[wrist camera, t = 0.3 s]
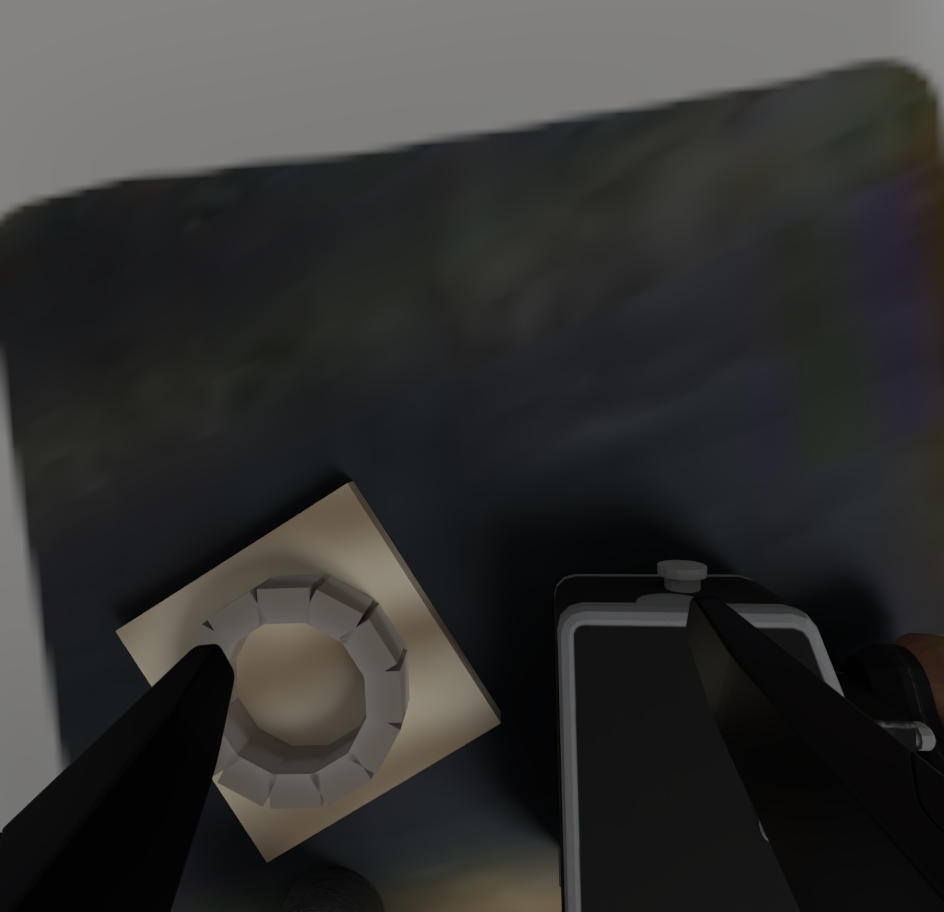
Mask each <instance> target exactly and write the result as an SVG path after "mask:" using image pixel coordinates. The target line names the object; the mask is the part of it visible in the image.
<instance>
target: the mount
mask: <svg viewBox="0 0 944 912" xmlns="http://www.w3.org/2000/svg"><path fill="white" fill-rule="evenodd" d="M116 633H117V634H118V636H119V637H120V639H121V640H122V642H123V644H124V645H125V647H126V648H127V650H128V651H129V653H130V654H131V656H132V657H133V659H134V660H135V662H136V663H137V665H138V666H139V668H140V669H141V671H142V673H143V674H144V676H145V677H146V679H147V680H148V682H149V683H150V685H151V686H153V685H154V684H155V683H156V682H157V681H158V680H159V679H161V678H162V677H163V676H164V675H165V674H166V673H167V672H168V671H169V670H170V669H171V668H172V667H173V666H174V665H175V664H176V663H177V662H178V661H179V660H181V659H182V658H183V657H184V656H185V655H186V654H187V653H188V652H189V651H190V650H191V649H192V648H194V647H196V646H198V645H206V644H218V645H219V646H220V647H221V648H222V650H223V651H224V653H225V655H226V657H227V659H228V660H229V662H230V664H231V666H232V667H233V670H234V675H235V679H234V686H233V691H232V695H231V700H230V705H229V710H228V714H227V719H226V724H225V729H224V733H223V738H222V743H221V748H220V752H219V756H218V761H217V765H216V768H215V771H214V775H213V778H212V780H213V781H214V783H215V784H216V786H217V787H218V789H219V790H220V792H221V793H222V795H223V796H224V798H225V799H226V801H227V802H228V804H229V806H230V807H231V809H232V810H233V812H234V813H235V815H236V816H237V818H238V819H239V821H240V822H241V824H242V825H243V827H244V828H245V830H246V832H247V833H248V835H249V836H250V838H251V839H252V841H253V842H254V844H255V845H256V847H257V848H258V850H259V851H260V853H261V854H262V856H263V858H264V859H265V861H266V862H269V861H271V860H272V859H274V858H276V857H277V856H279V855H281V854H282V853H284V852H286V851H288V850H289V849H291V848H293V847H294V846H296V845H298V844H299V843H301V842H303V841H304V840H306V839H308V838H309V837H311V836H313V835H314V834H316V833H318V832H319V831H321V830H323V829H324V828H326V827H328V826H329V825H331V824H333V823H335V822H336V821H338V820H340V819H341V818H343V817H345V816H346V815H348V814H350V813H351V812H353V811H355V810H356V809H358V808H360V807H361V806H363V805H365V804H366V803H368V802H370V801H371V800H373V799H375V798H376V797H378V796H380V795H381V794H383V793H385V792H387V791H388V790H390V789H392V788H393V787H395V786H397V785H398V784H400V783H402V782H403V781H405V780H407V779H408V778H410V777H412V776H413V775H415V774H417V773H418V772H420V771H422V770H423V769H425V768H427V767H428V766H430V765H432V764H434V763H435V762H437V761H439V760H440V759H442V758H444V757H445V756H447V755H449V754H450V753H452V752H454V751H455V750H457V749H459V748H460V747H462V746H464V745H465V744H467V743H469V742H470V741H472V740H474V739H475V738H477V737H479V736H480V735H482V734H484V733H486V732H487V731H489V730H491V729H492V728H494V727H496V726H497V725H499V724H501V711H500V710H499V708H498V707H497V705H496V703H495V702H494V700H493V699H492V697H491V696H490V694H489V693H488V691H487V689H486V688H485V686H484V685H483V683H482V682H481V680H480V678H479V677H478V675H477V674H476V672H475V671H474V669H473V668H472V666H471V664H470V663H469V661H468V660H467V658H466V657H465V655H464V653H463V652H462V650H461V649H460V647H459V646H458V644H457V643H456V641H455V639H454V638H453V636H452V635H451V633H450V632H449V630H448V628H447V627H446V625H445V624H444V622H443V621H442V619H441V617H440V616H439V614H438V613H437V611H436V610H435V608H434V607H433V605H432V603H431V602H430V600H429V599H428V597H427V596H426V594H425V592H424V591H423V589H422V588H421V586H420V585H419V583H418V582H417V580H416V578H415V577H414V575H413V574H412V572H411V571H410V569H409V567H408V566H407V564H406V563H405V561H404V560H403V558H402V557H401V555H400V553H399V552H398V550H397V549H396V547H395V546H394V544H393V542H392V541H391V539H390V538H389V536H388V535H387V533H386V531H385V530H384V528H383V527H382V525H381V524H380V522H379V521H378V519H377V517H376V516H375V514H374V513H373V511H372V510H371V508H370V506H369V505H368V503H367V502H366V500H365V499H364V497H363V496H362V494H361V492H360V491H359V489H358V488H357V486H356V485H355V483H354V481H352V482H349V483H347V484H345V485H344V486H342V487H340V488H339V489H337V490H336V491H334V492H333V493H331V494H329V495H328V496H326V497H325V498H323V499H322V500H320V501H318V502H317V503H315V504H314V505H312V506H311V507H309V508H308V509H306V510H304V511H303V512H301V513H300V514H298V515H297V516H295V517H293V518H292V519H290V520H289V521H287V522H286V523H284V524H282V525H281V526H279V527H278V528H276V529H275V530H273V531H272V532H270V533H268V534H267V535H265V536H264V537H262V538H261V539H259V540H257V541H256V542H254V543H253V544H251V545H250V546H248V547H246V548H245V549H243V550H242V551H240V552H239V553H237V554H236V555H234V556H232V557H231V558H229V559H228V560H226V561H225V562H223V563H221V564H220V565H218V566H217V567H215V568H214V569H212V570H210V571H209V572H207V573H206V574H204V575H203V576H201V577H200V578H198V579H196V580H195V581H193V582H192V583H190V584H189V585H187V586H185V587H184V588H182V589H181V590H179V591H178V592H176V593H174V594H173V595H171V596H170V597H168V598H167V599H165V600H164V601H162V602H160V603H159V604H157V605H156V606H154V607H153V608H151V609H149V610H148V611H146V612H145V613H143V614H142V615H140V616H138V617H137V618H135V619H134V620H132V621H131V622H129V623H128V624H126V625H124V626H123V627H121V628H120V629H118V630H117V631H116Z"/></svg>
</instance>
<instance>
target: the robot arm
mask: <svg viewBox="0 0 944 912" xmlns="http://www.w3.org/2000/svg"><path fill="white" fill-rule="evenodd" d="M686 634H687V638H688V642H689V645H690V648H691V651H692V654H693V657H694V660H695V663H696V666H697V669H698V672H699V675H700V678H701V681H702V684H703V687H704V690H705V693H706V697H707V700H708V703H709V706H710V709H711V711H712V714H713V717H714V720H715V722H716V725H717V727H718V729H719V732H720V734H721V736H722V738H723V741H724V743H725V745H726V747H727V750H728V752H729V754H730V756H731V758H732V761H733V763H734V765H735V767H736V770H737V772H738V774H739V776H740V779H741V781H742V783H743V785H744V787H745V790H746V792H747V794H748V796H749V799H750V801H751V803H752V805H753V807H754V810H755V812H756V814H757V816H758V819H759V821H760V823H761V825H762V828H763V830H764V832H765V834H766V836H767V839H768V841H769V843H770V845H771V848H772V850H773V852H774V854H775V857H776V859H777V861H778V863H779V865H780V868H781V870H782V872H783V874H784V877H785V879H786V881H787V883H788V886H789V888H790V890H791V892H792V894H793V897H794V899H795V901H796V903H797V906H798V908H799V910H800V912H944V775H943V774H942V773H940V772H939V771H938V770H937V769H935V768H934V767H933V766H931V765H930V764H929V763H928V762H926V761H925V760H924V759H923V758H921V757H920V756H919V755H917V754H916V753H914V752H911V753H910V750H909V748H908V747H907V746H906V745H904V744H903V743H902V742H901V741H899V740H898V739H897V738H896V737H894V736H893V735H892V734H891V733H889V732H888V731H887V730H885V729H884V728H883V727H882V726H880V725H879V724H878V723H877V722H875V721H874V720H873V719H871V718H870V717H869V716H868V715H866V714H865V713H864V712H863V711H861V710H860V709H859V708H858V707H856V706H855V705H854V704H852V703H851V702H850V701H849V700H847V699H846V698H845V697H844V696H842V695H841V694H840V693H838V692H837V691H836V690H835V689H833V688H832V687H831V686H830V685H828V684H827V683H826V682H824V681H823V680H822V679H821V678H819V677H818V676H817V675H816V674H814V673H813V672H812V671H811V670H809V669H808V668H807V667H805V666H804V665H803V664H802V663H800V662H799V661H798V660H797V659H795V658H794V657H793V656H791V655H790V654H789V653H788V652H786V651H785V650H784V649H783V648H781V647H780V646H779V645H778V644H776V643H775V642H774V641H772V640H771V639H770V638H769V637H767V636H766V635H765V634H764V633H762V632H761V631H760V630H758V629H757V628H756V627H755V626H753V625H752V624H751V623H750V622H748V621H747V620H746V619H745V618H743V617H742V616H741V615H739V614H738V613H737V612H736V611H734V610H733V609H732V608H731V607H729V606H728V605H727V604H725V603H724V602H723V601H722V600H720V599H719V598H718V597H716V596H713V595H708V596H697V597H693V598H692V599H691V601H690V605H689V611H688V617H687V622H686ZM234 679H235V675H234V670H233V667H232V666H231V664H230V662H229V660H228V659H227V657H226V655H225V653H224V651H223V650H222V648H221V647H220V646H219V645H218V644H206V645H198V646H196V647H194V648H192V649H191V650H190V651H189V652H188V653H187V654H186V655H185V656H184V657H183V658H182V659H181V660H179V661H178V662H177V663H176V664H175V665H174V666H173V667H172V668H171V669H170V670H169V671H168V672H167V673H166V674H165V675H164V676H163V677H162V678H161V679H159V680H158V681H157V682H156V683H155V684H154V685H153V686H152V687H151V688H150V689H149V690H148V691H147V692H146V693H145V694H144V695H143V696H142V697H141V698H140V699H138V700H137V701H136V702H135V703H134V704H133V705H132V706H131V707H130V708H129V709H128V710H127V711H126V712H125V713H124V714H123V715H122V716H121V717H120V718H118V719H117V720H116V721H115V722H114V723H113V724H112V725H111V726H110V727H109V728H108V729H107V730H106V731H105V732H104V733H103V734H102V735H101V736H100V737H98V738H97V739H96V740H95V741H94V742H93V743H92V744H91V745H90V746H89V747H88V748H87V749H86V750H85V751H84V752H83V753H82V754H81V755H80V756H78V757H77V758H76V759H75V760H74V761H73V762H72V763H71V764H70V765H69V766H68V767H67V768H66V769H65V770H64V771H63V772H62V773H61V774H60V775H58V776H57V777H56V778H55V779H54V780H53V781H52V782H51V783H50V784H49V785H48V786H47V787H46V788H45V789H44V790H43V791H42V792H41V793H40V794H39V795H37V796H36V797H35V798H34V799H33V800H32V801H31V802H30V803H29V804H28V805H27V806H26V807H25V808H24V809H23V810H22V811H21V812H20V813H19V814H17V815H16V816H15V817H14V818H13V819H12V820H11V821H10V822H9V823H8V824H7V825H6V826H5V827H4V828H3V830H2V833H0V912H170V911H171V908H172V905H173V902H174V899H175V895H176V892H177V889H178V886H179V883H180V880H181V876H182V873H183V870H184V867H185V864H186V861H187V857H188V854H189V851H190V848H191V845H192V842H193V838H194V835H195V832H196V829H197V826H198V823H199V819H200V816H201V813H202V810H203V807H204V804H205V800H206V797H207V794H208V791H209V788H210V785H211V781H212V778H213V775H214V771H215V768H216V765H217V761H218V756H219V752H220V748H221V743H222V738H223V733H224V729H225V724H226V719H227V714H228V710H229V705H230V700H231V695H232V691H233V686H234Z"/></svg>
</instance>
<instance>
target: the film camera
mask: <svg viewBox="0 0 944 912" xmlns="http://www.w3.org/2000/svg"><path fill="white" fill-rule="evenodd" d="M657 573H658V574H573V575H569V576H565V577H563V578H562V580H561V581H560V582H559V583H558V584H557V585H556V589H555V593H554V609H555V678H556V714H557V751H558V788H559V824H560V849H558V858H559V885H560V887H561V897H562V912H800V910H799V908H798V906H797V903H796V901H795V899H794V897H793V894H792V892H791V890H790V888H789V886H788V883H787V881H786V879H785V877H784V874H783V872H782V870H781V868H780V865H779V863H778V861H777V859H776V857H775V854H774V852H773V850H772V848H771V845H770V843H769V841H768V839H767V836H766V834H765V832H764V830H763V828H762V825H761V823H760V821H759V819H758V816H757V814H756V812H755V810H754V807H753V805H752V803H751V801H750V799H749V796H748V794H747V792H746V790H745V787H744V785H743V783H742V781H741V779H740V776H739V774H738V772H737V770H736V767H735V765H734V763H733V761H732V758H731V756H730V754H729V752H728V750H727V747H726V745H725V743H724V741H723V738H722V736H721V734H720V732H719V729H718V727H717V725H716V722H715V720H714V717H713V714H712V711H711V709H710V706H709V703H708V700H707V697H706V693H705V690H704V687H703V684H702V681H701V678H700V675H699V672H698V669H697V666H696V663H695V660H694V657H693V654H692V651H691V648H690V645H689V642H688V638H687V634H686V622H687V617H688V611H689V605H690V601H691V599H692V598H693V597H697V596H708V595H713V596H716V597H718V598H719V599H720V600H722V601H723V602H724V603H725V604H727V605H728V606H729V607H731V608H732V609H733V610H734V611H736V612H737V613H738V614H739V615H741V616H742V617H743V618H745V619H746V620H747V621H748V622H750V623H751V624H752V625H753V626H755V627H756V628H757V629H758V630H760V631H761V632H762V633H764V634H765V635H766V636H767V637H769V638H770V639H771V640H772V641H774V642H775V643H776V644H778V645H779V646H780V647H781V648H783V649H784V650H785V651H786V652H788V653H789V654H790V655H791V656H793V657H794V658H795V659H797V660H798V661H799V662H800V663H802V664H803V665H804V666H805V667H807V668H808V669H809V670H811V671H812V672H813V673H814V674H816V675H817V676H818V677H819V678H821V679H822V680H823V681H824V682H826V683H827V684H828V685H830V686H831V687H832V688H833V689H835V690H836V691H837V692H838V693H840V694H841V695H842V696H844V697H845V698H846V699H847V700H849V701H850V702H851V703H852V704H854V705H855V706H856V707H858V708H859V709H860V710H861V711H863V712H864V713H865V714H866V715H868V716H869V717H870V718H871V719H873V720H874V721H875V722H877V723H878V724H879V725H880V726H882V727H883V728H884V729H885V730H887V731H888V732H889V733H891V734H892V735H893V736H894V737H896V738H897V739H898V740H899V741H901V742H902V743H903V744H904V745H906V746H907V747H908V748H909V750H910V753H911V752H914V753H916V754H917V755H919V756H920V757H921V758H923V759H924V760H925V761H926V762H928V763H929V764H930V765H931V766H933V767H934V768H935V769H937V770H938V771H939V772H940V773H942V774H943V775H944V634H924V633H908V634H906V635H903V636H901V637H899V638H898V639H897V640H896V641H895V642H894V643H893V644H871V645H869V646H867V647H865V648H863V649H861V650H859V651H857V652H855V653H854V654H852V655H850V656H848V657H847V659H846V660H845V664H844V672H835V671H834V669H833V666H832V664H831V661H830V659H829V656H828V654H827V651H826V648H825V646H824V643H823V641H822V638H821V636H820V633H819V631H818V628H817V626H816V625H815V624H814V623H813V622H812V620H811V619H810V618H809V617H808V616H807V614H806V613H804V612H802V611H801V610H799V609H798V608H796V607H794V606H793V605H791V604H790V603H788V602H786V601H785V600H783V599H782V598H780V597H779V596H777V595H775V594H774V593H772V592H771V591H769V590H767V589H766V588H764V587H763V586H761V585H759V584H758V583H756V582H755V581H753V580H751V579H750V578H746V577H743V576H740V575H731V574H707V566H706V565H705V564H703V563H699V562H695V561H688V560H665V561H661V562H659V563H657Z"/></svg>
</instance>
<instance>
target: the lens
mask: <svg viewBox="0 0 944 912" xmlns="http://www.w3.org/2000/svg"><path fill="white" fill-rule="evenodd" d="M281 912H384V908H383V904H382V901H381V899H380V896H379V895H378V893H377V891H376V890H375V888H374V887H373V886H372V885H371V884H370V883H369V882H368V881H367V880H366V879H365V878H364V877H362V876H361V875H359V874H357V873H355V872H353V871H351V870H348V869H345V868H339V867H324V868H320V869H316V870H313V871H311V872H309V873H307V874H306V875H304V876H303V877H301V878H300V879H299V880H298V881H297V882H296V883H295V884H294V885H293V887H292V888H291V890H290V892H289V894H288V896H287V898H286V901H285V903H284V905H283V907H282V910H281Z"/></svg>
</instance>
